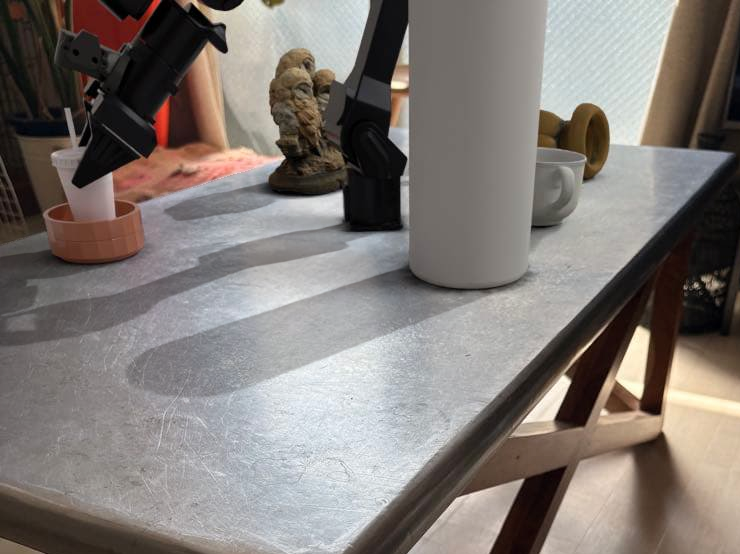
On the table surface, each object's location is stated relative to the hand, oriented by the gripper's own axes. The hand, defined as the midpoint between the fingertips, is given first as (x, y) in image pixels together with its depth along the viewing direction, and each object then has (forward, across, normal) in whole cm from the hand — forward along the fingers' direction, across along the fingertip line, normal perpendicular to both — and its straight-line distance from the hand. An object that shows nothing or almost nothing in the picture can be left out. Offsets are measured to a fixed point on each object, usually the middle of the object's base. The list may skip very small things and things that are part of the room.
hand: (73, 179), depth 94 cm
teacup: (-31, +7, +44) cm, 54 cm away
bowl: (+5, 0, +6) cm, 8 cm away
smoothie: (+4, 0, +6) cm, 7 cm away
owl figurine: (-17, -24, +29) cm, 41 cm away
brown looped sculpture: (-37, -19, +50) cm, 65 cm away
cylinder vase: (-20, +21, +32) cm, 44 cm away
